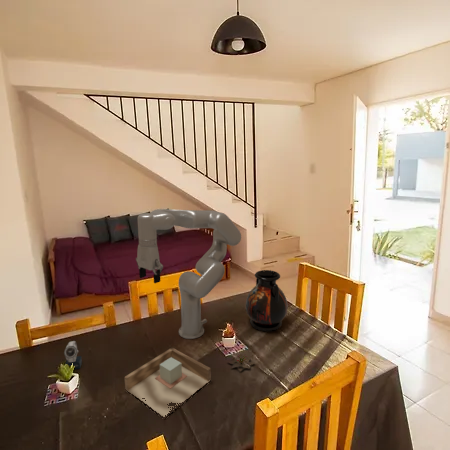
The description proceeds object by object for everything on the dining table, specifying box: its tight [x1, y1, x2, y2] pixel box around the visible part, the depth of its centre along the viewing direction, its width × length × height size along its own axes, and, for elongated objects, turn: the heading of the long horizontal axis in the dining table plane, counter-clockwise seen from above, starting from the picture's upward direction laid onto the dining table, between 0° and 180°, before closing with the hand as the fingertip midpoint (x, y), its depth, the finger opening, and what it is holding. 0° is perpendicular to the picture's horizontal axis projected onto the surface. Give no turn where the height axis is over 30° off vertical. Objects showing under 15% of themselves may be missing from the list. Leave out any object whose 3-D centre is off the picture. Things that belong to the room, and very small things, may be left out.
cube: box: [160, 357, 182, 384], centre depth 129 cm, size 6×6×6 cm
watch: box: [63, 340, 83, 370], centre depth 137 cm, size 6×8×11 cm
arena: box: [124, 347, 212, 417], centre depth 126 cm, size 24×22×6 cm
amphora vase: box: [245, 269, 289, 332], centre depth 169 cm, size 22×22×28 cm
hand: (149, 279), depth 144 cm, fingers open, 9 cm apart
